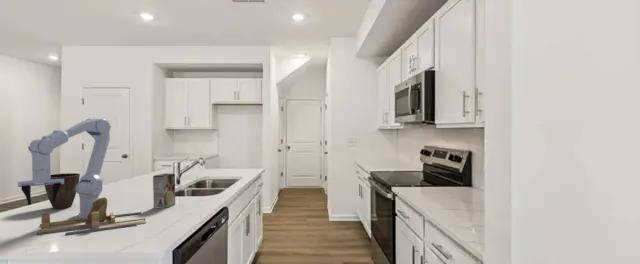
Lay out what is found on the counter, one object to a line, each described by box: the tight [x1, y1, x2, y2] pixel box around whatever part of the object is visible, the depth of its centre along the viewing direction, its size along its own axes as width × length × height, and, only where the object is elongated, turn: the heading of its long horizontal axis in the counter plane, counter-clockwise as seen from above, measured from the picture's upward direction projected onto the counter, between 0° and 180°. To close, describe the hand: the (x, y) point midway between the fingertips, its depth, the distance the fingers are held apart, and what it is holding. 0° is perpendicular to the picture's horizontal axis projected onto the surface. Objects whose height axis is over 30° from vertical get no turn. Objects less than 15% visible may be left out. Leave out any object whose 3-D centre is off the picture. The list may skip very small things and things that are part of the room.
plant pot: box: [43, 172, 81, 210], centre depth 178 cm, size 15×15×16 cm
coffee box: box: [152, 172, 176, 209], centre depth 182 cm, size 9×6×16 cm
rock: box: [84, 197, 108, 224], centre depth 151 cm, size 11×9×10 cm
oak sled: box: [39, 211, 116, 232], centre depth 148 cm, size 12×25×6 cm, turn 123°
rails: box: [36, 211, 146, 236], centre depth 148 cm, size 20×37×1 cm, turn 123°
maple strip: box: [91, 211, 147, 229], centre depth 148 cm, size 4×19×6 cm, turn 124°
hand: (42, 203), depth 143 cm, fingers open, 7 cm apart
